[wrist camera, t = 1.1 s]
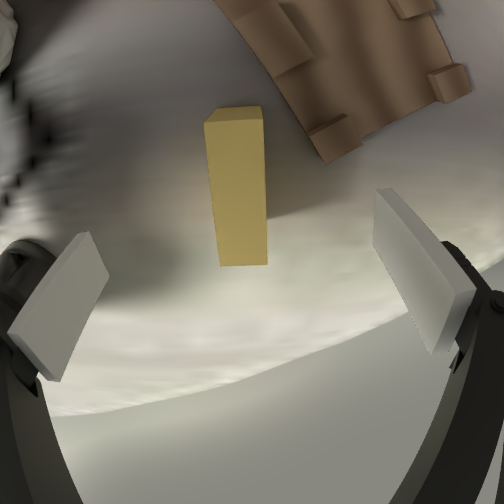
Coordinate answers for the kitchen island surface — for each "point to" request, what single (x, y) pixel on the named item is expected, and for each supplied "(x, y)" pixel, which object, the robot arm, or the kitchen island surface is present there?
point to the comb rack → (349, 62)
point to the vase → (6, 34)
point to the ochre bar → (238, 184)
